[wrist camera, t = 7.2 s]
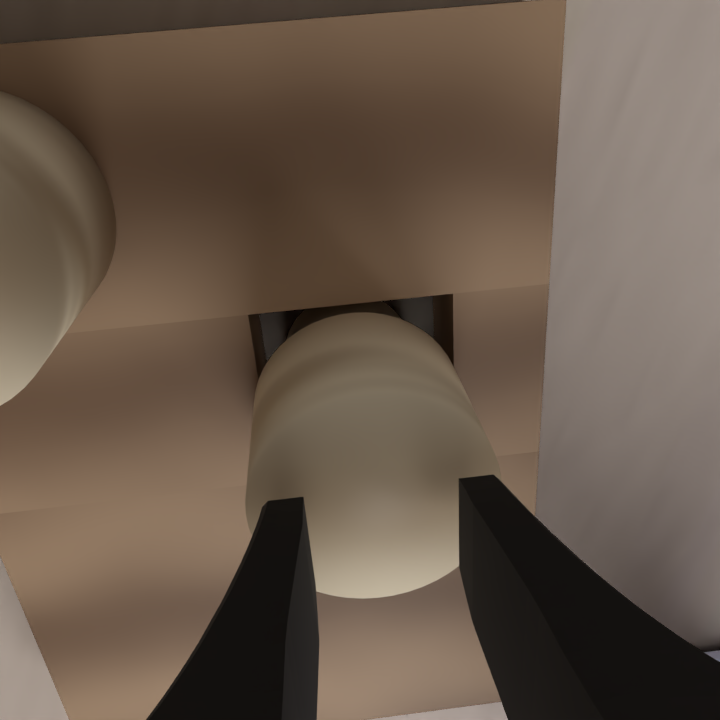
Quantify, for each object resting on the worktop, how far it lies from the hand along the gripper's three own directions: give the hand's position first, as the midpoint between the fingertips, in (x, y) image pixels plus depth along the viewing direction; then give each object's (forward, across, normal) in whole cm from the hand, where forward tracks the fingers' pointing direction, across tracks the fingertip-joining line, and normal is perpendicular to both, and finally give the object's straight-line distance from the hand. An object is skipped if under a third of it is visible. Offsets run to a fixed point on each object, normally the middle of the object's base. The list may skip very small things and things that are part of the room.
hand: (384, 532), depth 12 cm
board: (+7, +2, +2) cm, 8 cm away
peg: (+7, 0, 0) cm, 7 cm away
